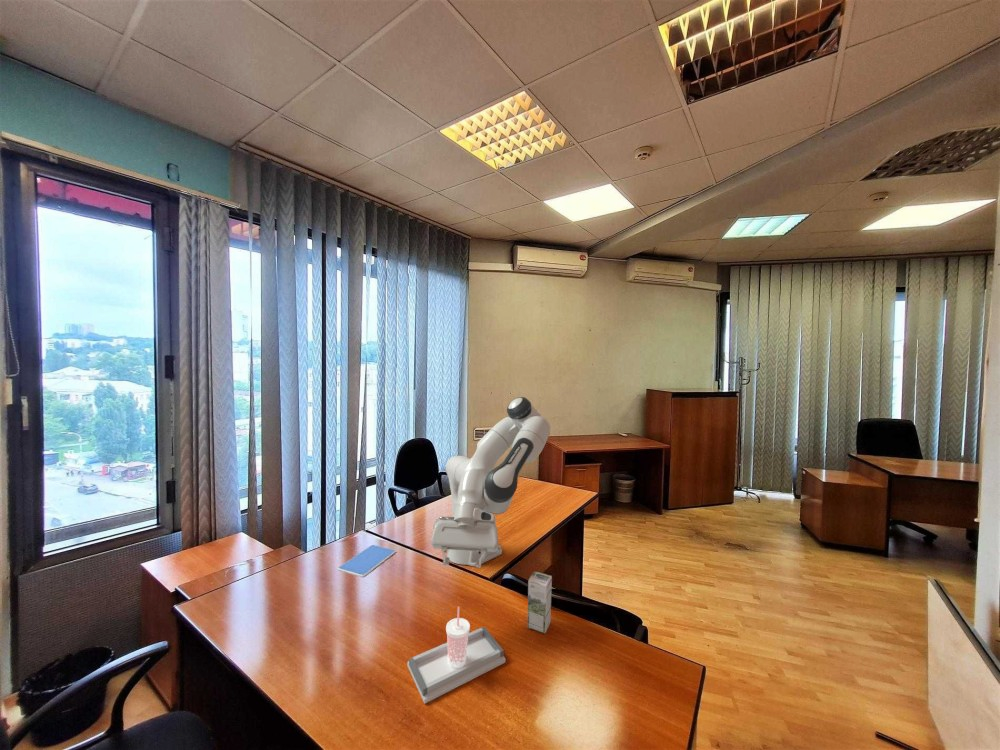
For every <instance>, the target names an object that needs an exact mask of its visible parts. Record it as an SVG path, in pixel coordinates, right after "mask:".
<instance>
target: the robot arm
mask: <svg viewBox="0 0 1000 750" xmlns="http://www.w3.org/2000/svg"><path fill="white" fill-rule="evenodd" d="M506 413H507V415H508V416H507V417H504V418H502V419H501V420H500V421H498V422H497V423H496V424H494V426H492V428H490V429H489V430H488V432H486V433H485V434H484V436H482V437H481V438H480V440H478V442H477V444H476V450H475V452H474V453H473V455H472V457H471V458H469V457H467V456H464V455H454V456H451V457H450V458H449V459H448V460H447V462H446V464H445V473H446V475H447V478H448V482H449V487H450V495H451V499H452V500H451V501H452V503H451V506H452V509H451V515H452V516H439V517H437V518H436V519H435V520H434V523H433V532H432V536H431V539H430V544H431V546H432V548H433V549H437V550H440V551H441V554H442V556H443V560H442V563H443V566H449V565H450V562H452V563H453V564H454V563H455V564H458V565H464V566H465V565H467V566H470V567H475V568H479V569H480V568H482V564H484V563H486V562H488V561H490V560H493V559H494V558H497V557H499V556H500V555H502V554H503V549H502V547H501V546H500V545H499V533H498V527H497V524H496V523H497V521H496V519H497V518H496V515H502V514H504V513H506V512H507V511H508V510H509V508H510V505H511V503H512V500H513V497H514V495H515V493H516V491H517V488H518V483H519V482H518V481H519V480H518V477H519V474H520V472H521V470H522V469H523V467H524V466H525V463H532V462H534V461H535V460H536V459H537V458H538V457H539V455H540V454H541V453H542V451H543V450H544V448H545V445H546V444H547V441H548V438H549V436H550V432H551V425H550V423H549V421H548V420H547V419H546V418H544V417H543V416H542V415H541V413H539V412H538V410H537V409H536V408H535V407H534V405H533V404H532V402H531V401H530V400H529V399H528V398H526V397H523V396H518V397H516V398H514V399H513V400H512V401H511V402H510V403H508V405H507V408H506ZM510 447H511V450H510V451H509V452H508V454H507V455H506V457H505V459H504V460H503V461H502V462H501V463H500V464H499V465H498V466H496V464H497V462H498V461H499V460H500V458H501V457H502V456H504V454H505V453H506V451H508V449H509V448H510ZM495 466H496V467H495ZM446 554H447V555H446Z"/></svg>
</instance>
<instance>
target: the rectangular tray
mask: <svg viewBox="0 0 1000 750" xmlns="http://www.w3.org/2000/svg"><path fill="white" fill-rule="evenodd" d="M406 662H407V663H406V664H407V668H408V670H409V672H410V675H411V676H412V679H413V681H414V684H415V686H416V688H417V690H418V692H419V695H420V697H421V700H422V702H423V703H424V704H427V703H429V702H431V701H433V700H435V699H436V698H439V697H441V696H442V695H444V694H447V693H448V692H451V691H453V690H454V689H456V688H459V687H460V686H462V685H465V684H466V683H468V682H470V681H472V680H473V679H476V678H477V677H479V676H482V675H483V674H486V673H487V672H489V671H491V670H493V669H495V668H497V667H499V666H501V665H503V664H506V657H505V656H504V649H503V648H502V646H501V645H500V644H499V643H498V641H497V640H496V638H494V636H493V635H492V634H491V633H490V632H489V630H488V629H487V627H485V626H482V627H479V628H478V629H475V630H473V631H471V632H470V631H469V633H468V644H467V655H466V662H465V664H464V665H463V666H462V667H460V668H453V667H451V666H450V665H449V664H448V646H447V642H445V643H442V644H440V645H438V646H436V647H433V648H431V649H429V650H426V651H423V652H421V653H420V654H417V655H415V656H412V657H410V658H408V661H406Z"/></svg>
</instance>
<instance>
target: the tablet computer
mask: <svg viewBox="0 0 1000 750" xmlns="http://www.w3.org/2000/svg"><path fill="white" fill-rule="evenodd" d="M396 551H397V550H395V549H393V548H386V547H383V546H379V545H375V544H371V545H369V546H368V547H366V548H365V549H363V550H362V551H361V552H358V554H356V555H355V556H353V557H352V558H350V559H349V560H347V561H346V562H344V563H343V564H341V565H340V566H339V567H337V571H339V572H341V573H342V572H343V573H346V574H350V575H352V576H356V577H359V578H365V577H366V576H368V575H369V574H370V573H372V571H374V570H375V569H376V568H378V567H379V566H380V565H382V564H383V563H384V562H385V561H387V560H388V559H389V558H390V557H392V556H393V555H395V554H396V553H397V552H396Z"/></svg>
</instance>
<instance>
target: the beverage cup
mask: <svg viewBox="0 0 1000 750" xmlns="http://www.w3.org/2000/svg"><path fill="white" fill-rule="evenodd" d="M456 613H457V614H456V616H457V617H455V618H452V619H450V620H449V621H447V623H446V626H445V631H446V638H447V639H446V640H447V641H446V643H447V646H448V664H449V665H450V666H451V667H453V668H460V667H462V666H463V665H464V664H465V662H466V655H467V644H468V633H470V629H471V625H470V622H469V621H468V620H467V619H465V618H463V617H460V606H457V612H456Z"/></svg>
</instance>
